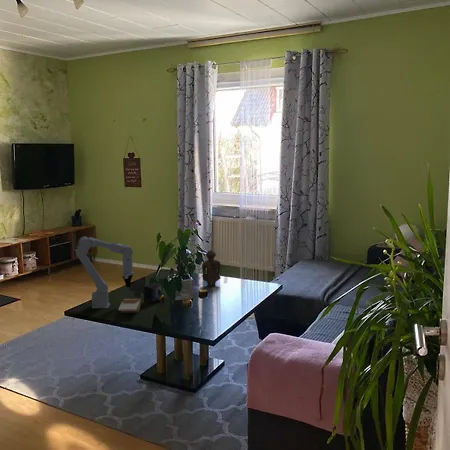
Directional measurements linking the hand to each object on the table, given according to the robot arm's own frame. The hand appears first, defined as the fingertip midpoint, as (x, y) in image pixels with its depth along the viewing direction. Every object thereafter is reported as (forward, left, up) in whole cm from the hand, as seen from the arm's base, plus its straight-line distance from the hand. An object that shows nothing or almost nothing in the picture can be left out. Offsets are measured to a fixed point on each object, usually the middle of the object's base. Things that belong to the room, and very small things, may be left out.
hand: (128, 287), depth 295 cm
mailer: (+3, -10, -10) cm, 15 cm away
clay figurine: (+52, +34, -11) cm, 63 cm away
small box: (+15, +4, -11) cm, 19 cm away
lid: (+3, -18, -6) cm, 19 cm away
